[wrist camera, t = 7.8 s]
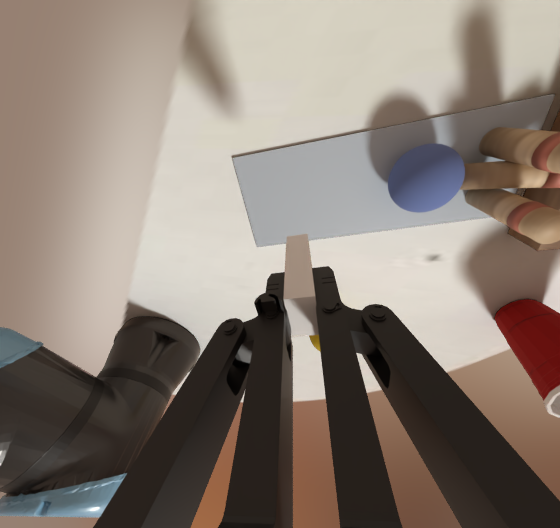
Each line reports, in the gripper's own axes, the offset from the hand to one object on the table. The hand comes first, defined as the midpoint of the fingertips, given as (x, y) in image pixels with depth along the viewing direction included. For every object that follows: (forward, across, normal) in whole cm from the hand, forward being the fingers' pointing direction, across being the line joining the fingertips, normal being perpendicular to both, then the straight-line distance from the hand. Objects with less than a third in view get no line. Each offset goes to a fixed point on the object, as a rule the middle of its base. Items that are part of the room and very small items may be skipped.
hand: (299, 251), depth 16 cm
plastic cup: (+11, -30, +22) cm, 39 cm away
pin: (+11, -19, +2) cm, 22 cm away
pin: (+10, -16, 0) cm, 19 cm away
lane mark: (+11, -8, 0) cm, 14 cm away
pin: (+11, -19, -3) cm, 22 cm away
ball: (+8, -12, -1) cm, 15 cm away
